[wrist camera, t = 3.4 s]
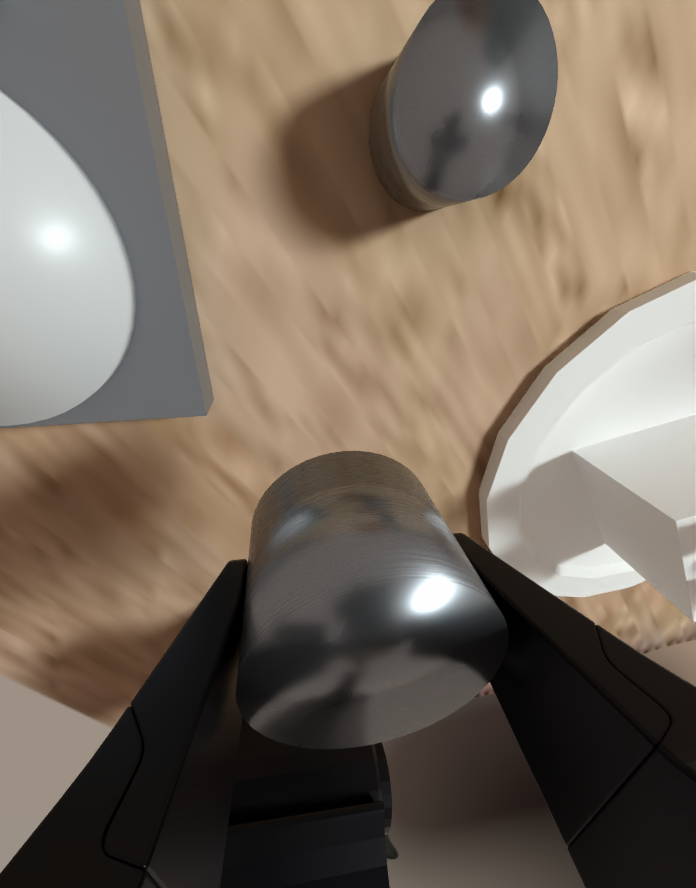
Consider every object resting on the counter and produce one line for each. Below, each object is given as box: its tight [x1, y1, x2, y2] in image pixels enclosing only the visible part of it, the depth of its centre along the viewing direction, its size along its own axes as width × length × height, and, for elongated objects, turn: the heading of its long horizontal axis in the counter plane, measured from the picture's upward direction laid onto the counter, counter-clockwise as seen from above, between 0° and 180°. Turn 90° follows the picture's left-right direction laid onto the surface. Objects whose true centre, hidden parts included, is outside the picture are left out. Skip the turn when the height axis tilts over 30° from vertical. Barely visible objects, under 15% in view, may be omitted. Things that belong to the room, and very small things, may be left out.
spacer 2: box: [235, 451, 509, 749], centre depth 8 cm, size 5×5×4 cm
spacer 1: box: [369, 0, 558, 211], centre depth 12 cm, size 5×5×4 cm
